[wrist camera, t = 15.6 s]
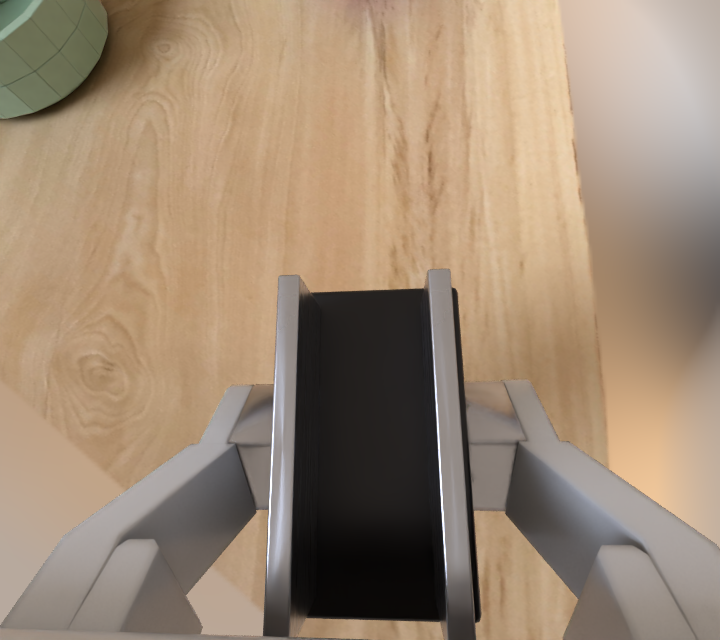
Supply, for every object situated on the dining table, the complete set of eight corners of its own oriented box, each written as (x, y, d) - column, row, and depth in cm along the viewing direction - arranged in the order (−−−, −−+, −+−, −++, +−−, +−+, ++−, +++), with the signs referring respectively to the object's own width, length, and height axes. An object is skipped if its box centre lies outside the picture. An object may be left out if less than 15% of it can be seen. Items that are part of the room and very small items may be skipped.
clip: (435, 515, 12) (517, 702, 4) (338, 515, 13) (227, 690, 4) (427, 354, 14) (476, 244, 5) (338, 356, 14) (253, 255, 6)
